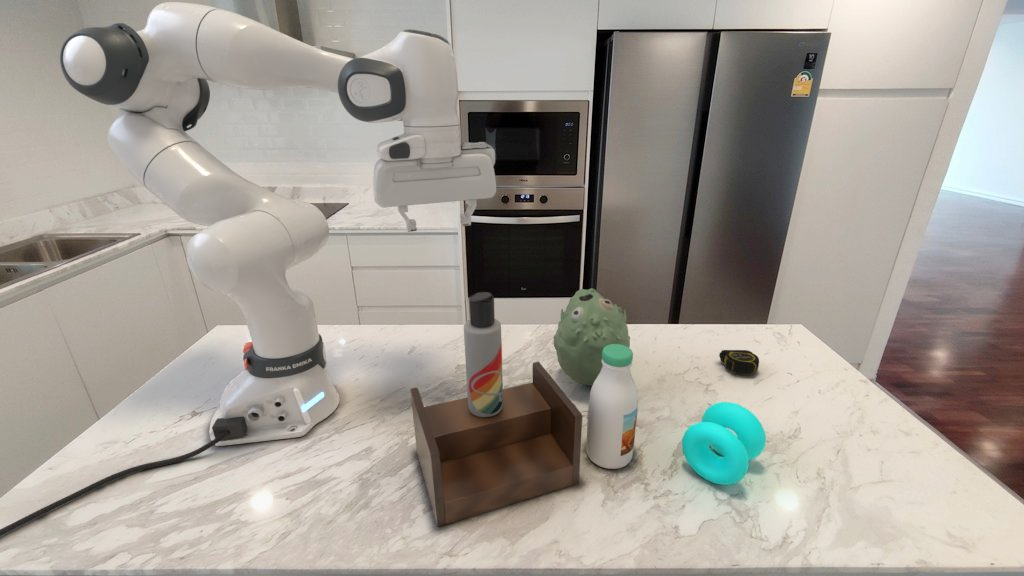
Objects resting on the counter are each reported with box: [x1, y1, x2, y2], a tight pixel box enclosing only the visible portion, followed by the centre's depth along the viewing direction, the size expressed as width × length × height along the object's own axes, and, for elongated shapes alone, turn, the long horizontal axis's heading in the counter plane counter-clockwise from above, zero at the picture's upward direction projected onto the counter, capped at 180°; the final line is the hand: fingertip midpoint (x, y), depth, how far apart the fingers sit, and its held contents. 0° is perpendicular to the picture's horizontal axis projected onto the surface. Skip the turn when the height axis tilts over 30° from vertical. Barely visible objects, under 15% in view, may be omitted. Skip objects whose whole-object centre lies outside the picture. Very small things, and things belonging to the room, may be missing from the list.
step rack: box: [409, 361, 583, 527], centre depth 76 cm, size 22×16×13 cm
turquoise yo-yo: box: [681, 401, 767, 486], centre depth 76 cm, size 10×10×10 cm
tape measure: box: [718, 349, 760, 376], centre depth 104 cm, size 7×7×4 cm
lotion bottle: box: [463, 291, 504, 417], centre depth 74 cm, size 6×6×20 cm
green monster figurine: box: [553, 288, 631, 386], centre depth 98 cm, size 16×19×20 cm
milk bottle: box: [585, 344, 639, 470], centre depth 77 cm, size 8×8×20 cm
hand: (439, 228), depth 82 cm, fingers open, 8 cm apart
